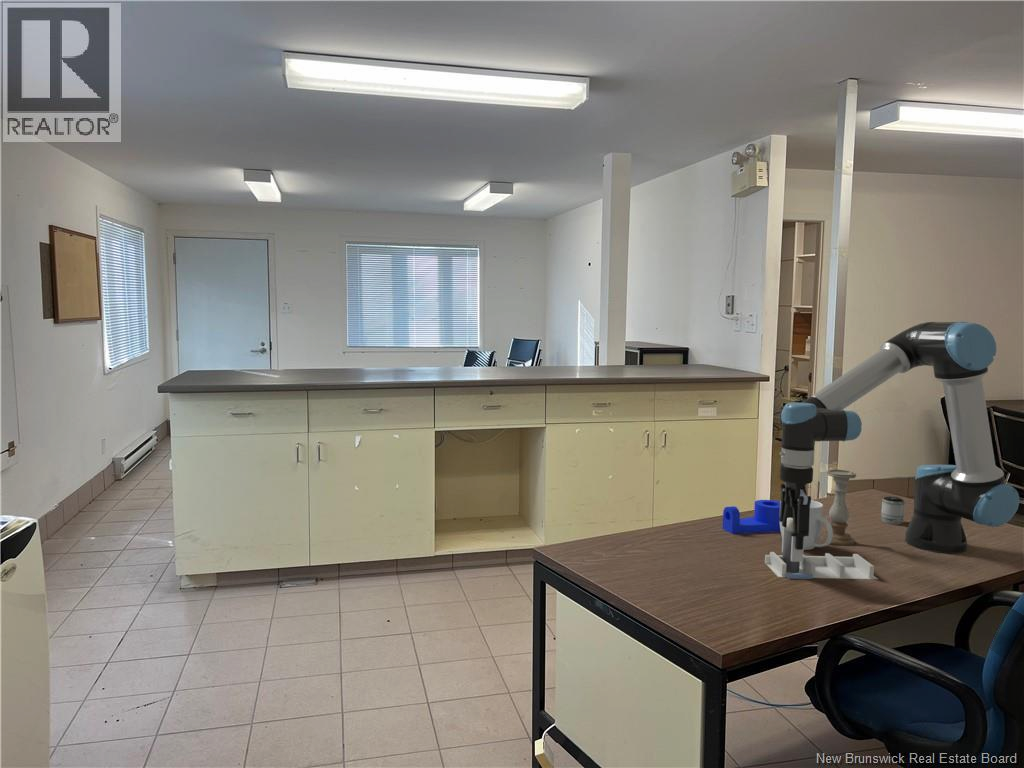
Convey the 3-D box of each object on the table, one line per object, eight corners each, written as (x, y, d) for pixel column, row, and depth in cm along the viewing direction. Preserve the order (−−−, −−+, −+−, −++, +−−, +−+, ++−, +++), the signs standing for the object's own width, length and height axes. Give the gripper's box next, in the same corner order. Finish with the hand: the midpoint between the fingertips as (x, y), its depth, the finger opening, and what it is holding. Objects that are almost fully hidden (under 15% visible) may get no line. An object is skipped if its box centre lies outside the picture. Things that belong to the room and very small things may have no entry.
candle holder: (856, 548, 194) (860, 476, 192) (822, 544, 197) (826, 474, 195) (852, 538, 202) (856, 470, 200) (819, 535, 205) (823, 468, 203)
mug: (842, 554, 188) (845, 507, 187) (818, 562, 182) (821, 513, 181) (793, 539, 200) (795, 495, 199) (769, 546, 194) (771, 500, 193)
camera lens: (876, 519, 222) (877, 495, 221) (894, 519, 223) (896, 495, 222) (889, 525, 216) (890, 500, 215) (907, 524, 217) (909, 500, 216)
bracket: (772, 522, 218) (773, 498, 218) (791, 531, 210) (792, 506, 209) (718, 527, 212) (719, 503, 212) (736, 536, 204) (737, 511, 203)
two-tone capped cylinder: (795, 567, 175) (797, 517, 174) (801, 573, 171) (804, 521, 170) (779, 566, 175) (781, 516, 174) (785, 572, 171) (788, 521, 170)
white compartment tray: (859, 568, 178) (859, 553, 177) (879, 584, 167) (880, 568, 167) (764, 566, 178) (765, 551, 178) (779, 582, 168) (780, 566, 167)
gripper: (768, 457, 180) (764, 544, 182) (795, 473, 162) (790, 569, 164) (798, 458, 180) (793, 545, 182) (827, 474, 161) (822, 570, 164)
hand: (792, 556), depth 173 cm, fingers open, 5 cm apart
